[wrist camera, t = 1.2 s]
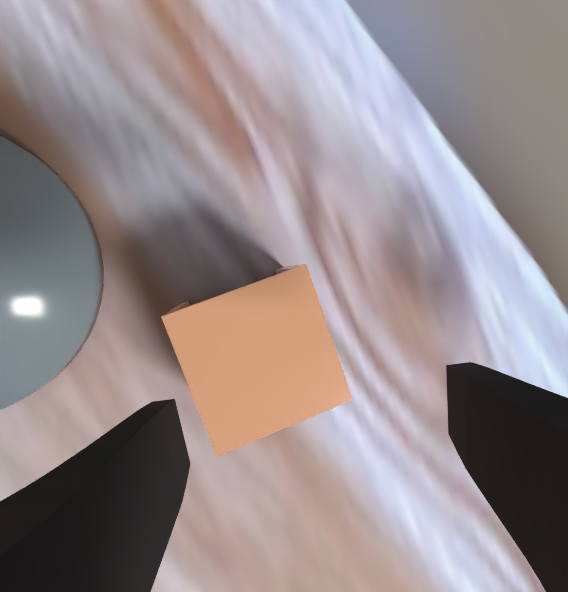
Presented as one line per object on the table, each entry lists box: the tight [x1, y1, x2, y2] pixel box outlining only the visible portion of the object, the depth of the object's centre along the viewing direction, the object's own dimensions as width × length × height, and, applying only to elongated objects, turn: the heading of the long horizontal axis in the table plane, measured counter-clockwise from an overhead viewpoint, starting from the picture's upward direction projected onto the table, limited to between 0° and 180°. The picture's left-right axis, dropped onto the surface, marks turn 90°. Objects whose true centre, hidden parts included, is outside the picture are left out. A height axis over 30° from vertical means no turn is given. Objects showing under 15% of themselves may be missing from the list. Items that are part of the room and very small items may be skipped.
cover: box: [161, 264, 353, 457], centre depth 18 cm, size 6×6×6 cm
